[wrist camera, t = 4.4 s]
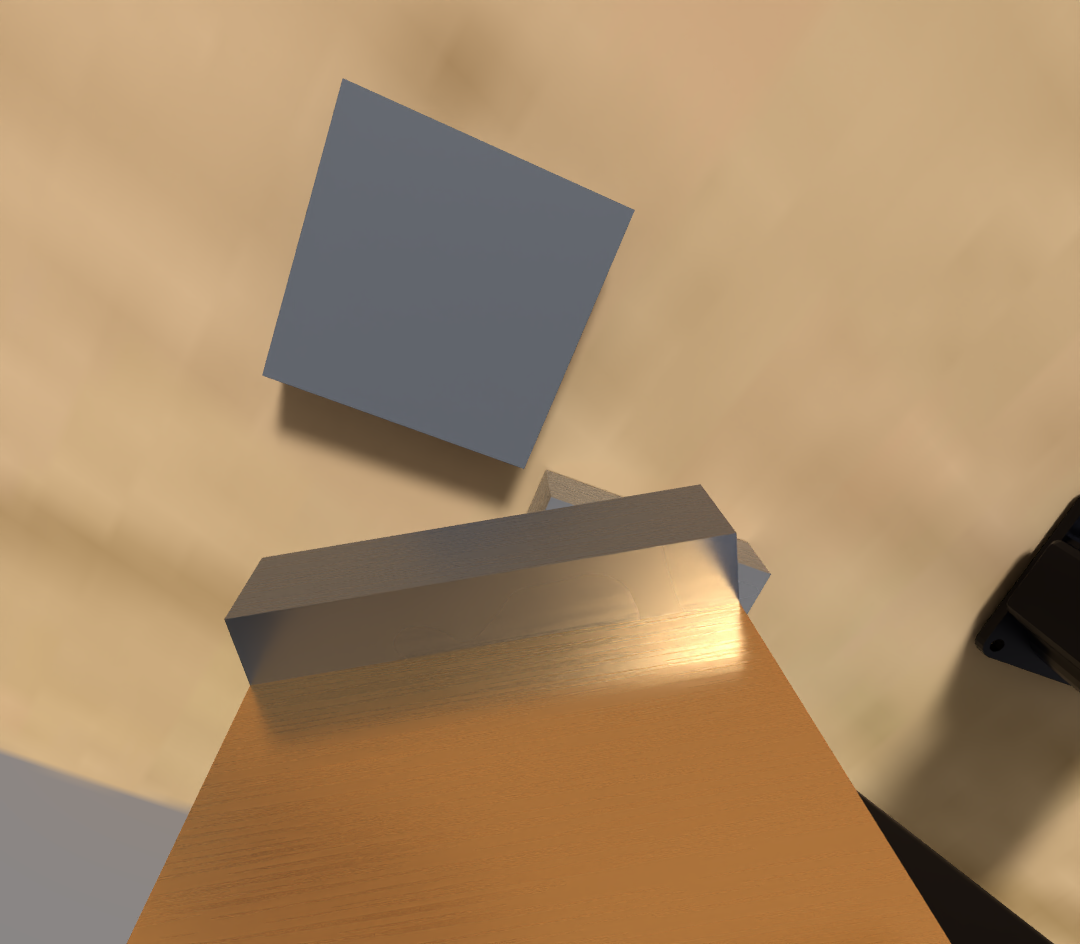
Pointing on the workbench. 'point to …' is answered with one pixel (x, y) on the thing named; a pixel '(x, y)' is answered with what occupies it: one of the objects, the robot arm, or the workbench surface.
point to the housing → (525, 753)
